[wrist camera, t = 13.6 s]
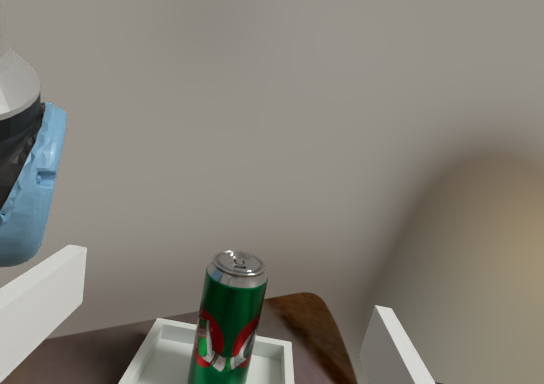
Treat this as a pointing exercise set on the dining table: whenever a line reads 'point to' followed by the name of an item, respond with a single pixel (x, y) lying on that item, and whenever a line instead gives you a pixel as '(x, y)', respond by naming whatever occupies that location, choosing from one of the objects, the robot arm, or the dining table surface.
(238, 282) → the soda can
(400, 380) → the robot arm
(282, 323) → the dining table surface
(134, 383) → the tray
